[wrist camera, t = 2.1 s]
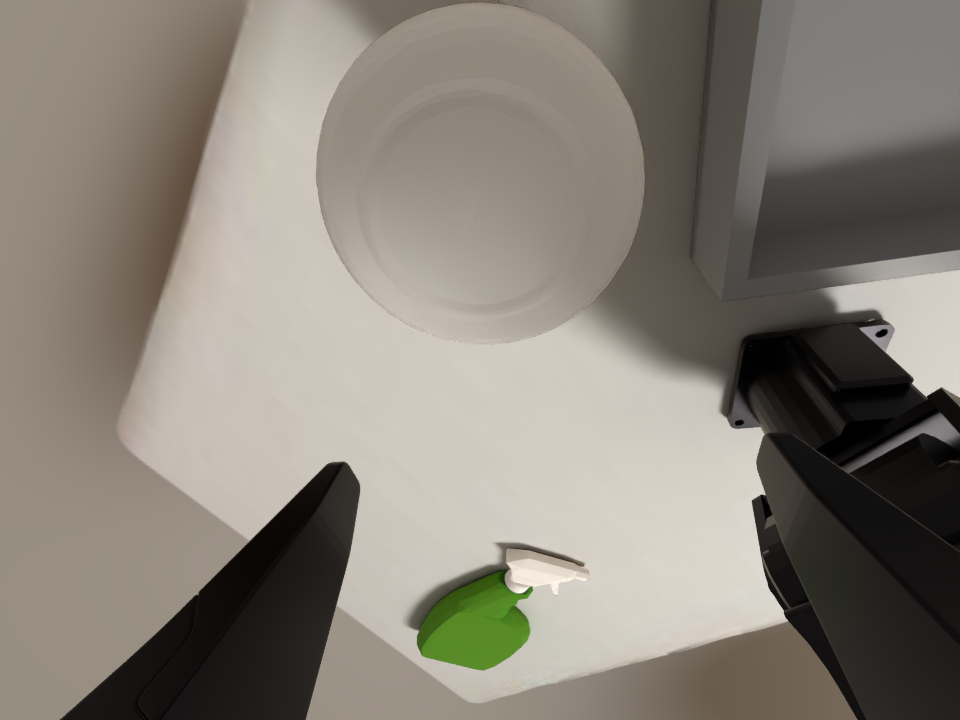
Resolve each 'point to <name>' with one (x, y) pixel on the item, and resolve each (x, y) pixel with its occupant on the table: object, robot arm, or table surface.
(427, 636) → the spray bottle
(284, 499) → the table surface
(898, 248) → the tote
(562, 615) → the table surface
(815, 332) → the robot arm
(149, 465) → the table surface
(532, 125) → the sprinkles bottle
